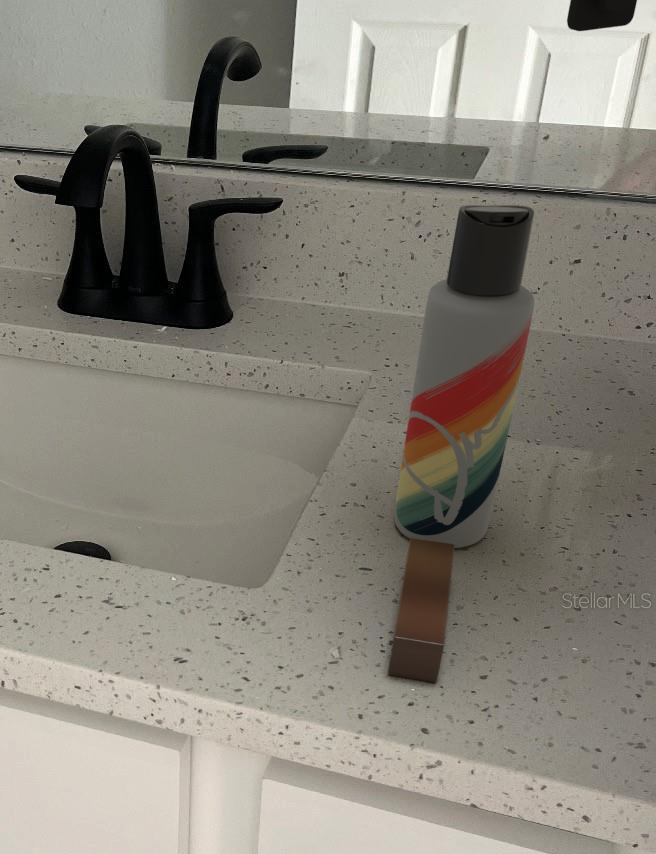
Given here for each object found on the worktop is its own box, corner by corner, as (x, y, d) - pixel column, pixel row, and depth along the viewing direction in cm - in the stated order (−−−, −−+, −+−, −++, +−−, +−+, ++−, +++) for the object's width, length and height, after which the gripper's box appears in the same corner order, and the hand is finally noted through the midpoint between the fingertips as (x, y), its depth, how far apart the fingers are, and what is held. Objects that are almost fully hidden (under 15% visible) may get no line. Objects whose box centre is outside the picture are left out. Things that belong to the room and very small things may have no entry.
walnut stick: (404, 573, 71) (410, 537, 69) (448, 579, 70) (455, 543, 68) (387, 675, 63) (393, 637, 61) (436, 683, 62) (443, 645, 61)
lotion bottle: (398, 548, 73) (450, 220, 61) (388, 501, 77) (435, 188, 66) (494, 552, 72) (565, 221, 61) (479, 504, 77) (542, 188, 65)
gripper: (861, -489, 43) (727, 32, 53) (552, -425, 56) (492, -20, 66) (688, -487, 41) (583, 51, 51) (412, -422, 55) (372, -7, 64)
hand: (532, 10), depth 59 cm, fingers open, 9 cm apart
